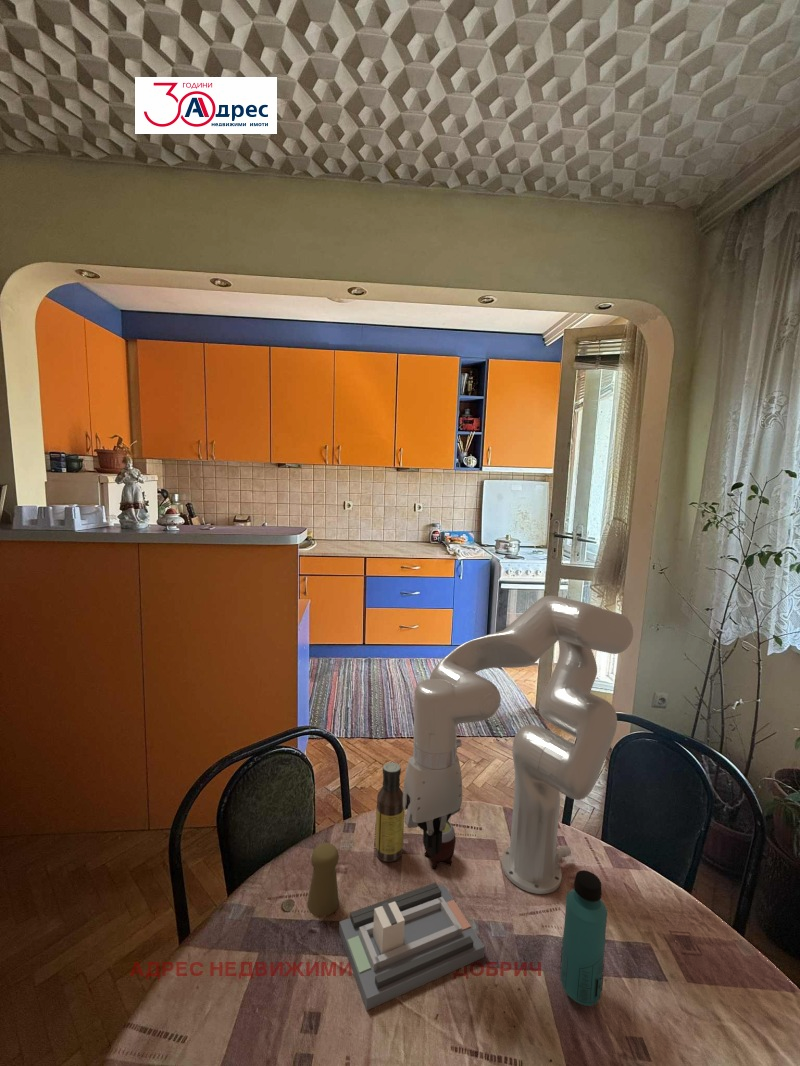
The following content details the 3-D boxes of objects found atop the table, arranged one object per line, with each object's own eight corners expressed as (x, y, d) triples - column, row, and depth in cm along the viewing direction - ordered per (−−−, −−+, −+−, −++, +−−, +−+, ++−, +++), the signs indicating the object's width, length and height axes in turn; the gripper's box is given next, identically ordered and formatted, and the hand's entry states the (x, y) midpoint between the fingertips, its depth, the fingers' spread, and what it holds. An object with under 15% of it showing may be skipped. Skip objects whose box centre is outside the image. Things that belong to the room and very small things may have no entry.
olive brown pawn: (332, 919, 86) (335, 864, 85) (302, 912, 87) (304, 857, 86) (342, 893, 92) (345, 840, 91) (314, 886, 93) (316, 835, 92)
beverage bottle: (597, 1025, 70) (608, 903, 69) (553, 999, 74) (563, 882, 73) (603, 988, 76) (614, 874, 75) (562, 965, 80) (571, 856, 78)
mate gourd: (457, 854, 104) (461, 790, 103) (447, 880, 96) (452, 812, 95) (426, 843, 106) (430, 781, 105) (414, 867, 99) (418, 801, 98)
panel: (443, 893, 93) (444, 878, 93) (483, 957, 80) (485, 940, 80) (338, 931, 83) (339, 915, 83) (366, 1010, 71) (367, 991, 71)
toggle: (393, 927, 82) (395, 899, 82) (403, 947, 79) (404, 918, 78) (372, 935, 81) (374, 906, 80) (381, 956, 77) (383, 926, 77)
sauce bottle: (408, 854, 103) (413, 768, 101) (387, 868, 98) (392, 779, 97) (388, 837, 107) (393, 756, 106) (368, 851, 103) (372, 766, 102)
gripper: (459, 732, 87) (456, 822, 89) (387, 750, 81) (385, 847, 83) (482, 753, 80) (479, 850, 82) (405, 774, 74) (403, 879, 76)
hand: (432, 848), depth 82 cm, fingers closed
